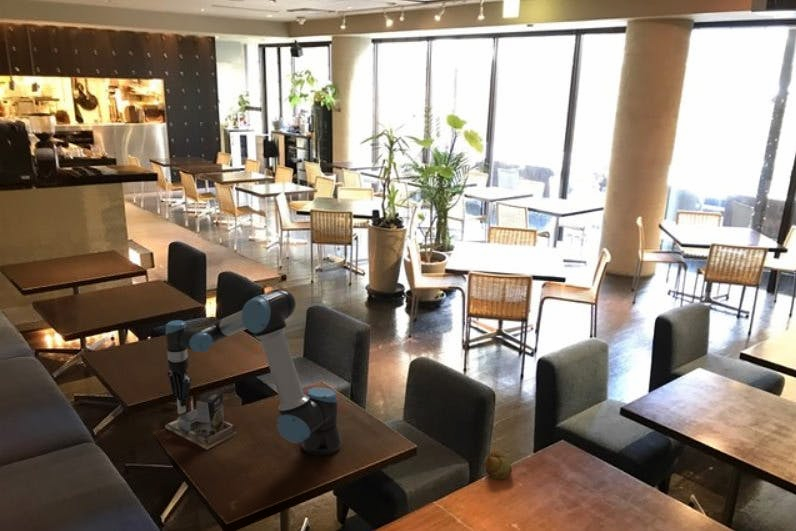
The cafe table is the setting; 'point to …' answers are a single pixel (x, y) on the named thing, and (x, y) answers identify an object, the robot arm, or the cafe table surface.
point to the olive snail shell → (498, 465)
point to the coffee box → (210, 414)
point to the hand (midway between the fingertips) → (181, 412)
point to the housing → (188, 422)
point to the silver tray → (201, 441)
